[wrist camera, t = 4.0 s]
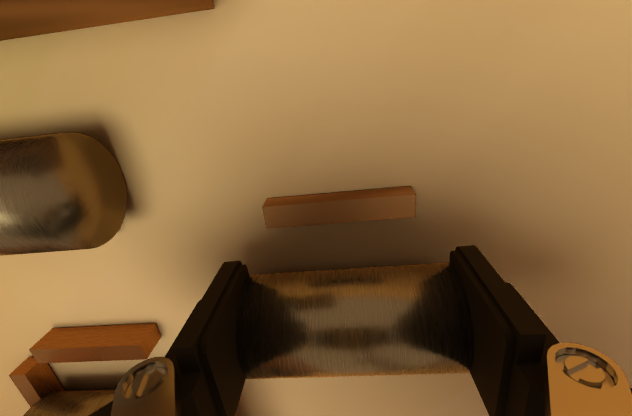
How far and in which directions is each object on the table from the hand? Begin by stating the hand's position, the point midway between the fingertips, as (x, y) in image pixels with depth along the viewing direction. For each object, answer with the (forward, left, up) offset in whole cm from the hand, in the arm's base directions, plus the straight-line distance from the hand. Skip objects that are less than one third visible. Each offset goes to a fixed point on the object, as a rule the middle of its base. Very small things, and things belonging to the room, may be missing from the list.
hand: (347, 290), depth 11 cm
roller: (0, 0, -1) cm, 1 cm away
